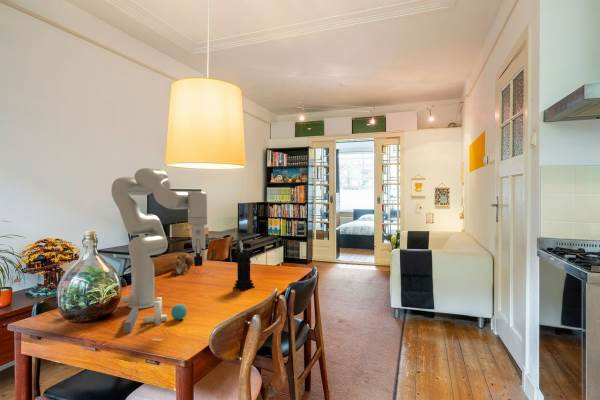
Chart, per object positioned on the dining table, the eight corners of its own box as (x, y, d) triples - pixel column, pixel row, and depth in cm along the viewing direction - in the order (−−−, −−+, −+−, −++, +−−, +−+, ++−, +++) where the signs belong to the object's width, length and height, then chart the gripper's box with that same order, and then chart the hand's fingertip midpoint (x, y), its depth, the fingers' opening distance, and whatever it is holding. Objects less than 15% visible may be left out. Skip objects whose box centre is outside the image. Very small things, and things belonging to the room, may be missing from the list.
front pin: (166, 321, 131) (143, 324, 128) (167, 319, 133) (144, 321, 131) (166, 315, 131) (143, 318, 128) (167, 313, 133) (144, 315, 131)
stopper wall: (124, 333, 119) (124, 322, 119) (133, 316, 137) (132, 306, 136) (130, 332, 120) (130, 322, 120) (138, 315, 137) (138, 306, 137)
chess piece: (244, 285, 183) (244, 249, 183) (254, 287, 178) (254, 250, 178) (233, 288, 177) (233, 251, 177) (243, 290, 172) (242, 252, 172)
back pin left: (155, 320, 132) (155, 299, 132) (156, 318, 134) (155, 297, 134) (161, 319, 133) (161, 298, 133) (162, 317, 135) (162, 296, 135)
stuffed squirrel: (169, 274, 209) (169, 254, 208) (183, 270, 222) (183, 250, 222) (182, 276, 206) (182, 255, 205) (196, 270, 219) (196, 251, 219)
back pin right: (154, 324, 127) (153, 303, 127) (154, 322, 130) (154, 301, 130) (160, 324, 128) (160, 302, 128) (161, 321, 130) (161, 300, 130)
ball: (186, 304, 131) (188, 318, 131) (184, 300, 137) (187, 314, 137) (170, 308, 129) (173, 323, 129) (169, 305, 134) (172, 319, 135)
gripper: (207, 222, 130) (208, 268, 130) (206, 219, 144) (206, 261, 144) (187, 223, 127) (188, 270, 127) (188, 220, 141) (188, 262, 142)
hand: (198, 265), depth 136 cm, fingers closed
